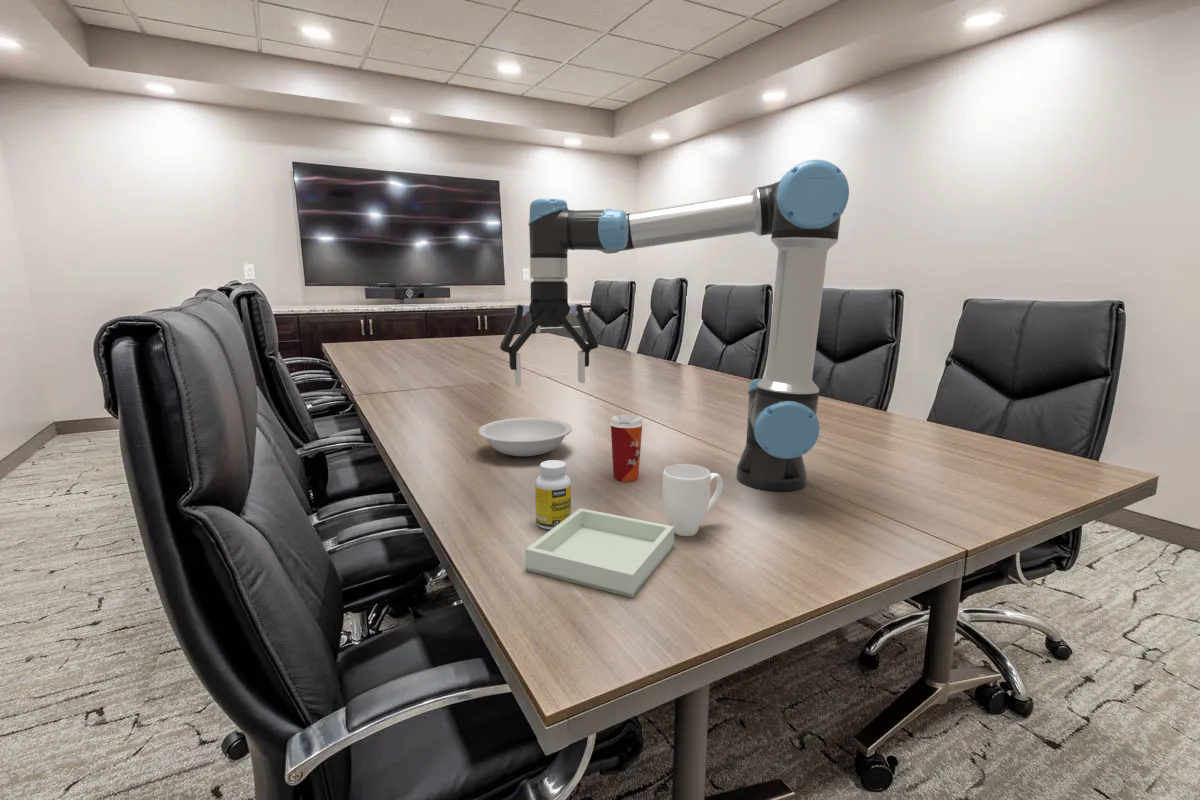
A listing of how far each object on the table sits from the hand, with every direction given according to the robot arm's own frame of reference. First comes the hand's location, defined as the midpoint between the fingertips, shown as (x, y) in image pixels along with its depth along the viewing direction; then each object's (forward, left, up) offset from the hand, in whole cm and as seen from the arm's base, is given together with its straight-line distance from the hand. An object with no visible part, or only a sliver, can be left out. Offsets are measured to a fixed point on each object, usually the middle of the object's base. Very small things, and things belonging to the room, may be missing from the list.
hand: (550, 383), depth 121 cm
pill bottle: (-10, +16, -23) cm, 30 cm away
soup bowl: (+19, -19, -23) cm, 35 cm away
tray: (-24, +24, -23) cm, 41 cm away
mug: (-34, +7, -23) cm, 42 cm away
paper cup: (-12, -13, -23) cm, 29 cm away
